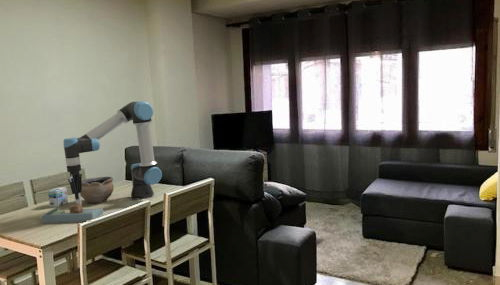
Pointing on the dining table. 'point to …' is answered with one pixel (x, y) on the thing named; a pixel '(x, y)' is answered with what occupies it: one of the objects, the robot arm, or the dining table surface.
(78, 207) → the walnut block
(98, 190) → the ceramic bowl
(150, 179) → the robot arm
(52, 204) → the white toy van
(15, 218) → the dining table surface
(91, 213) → the box
